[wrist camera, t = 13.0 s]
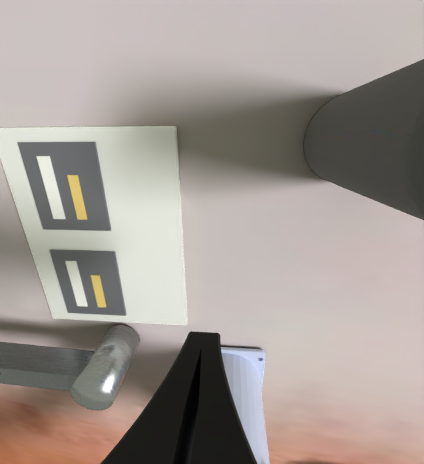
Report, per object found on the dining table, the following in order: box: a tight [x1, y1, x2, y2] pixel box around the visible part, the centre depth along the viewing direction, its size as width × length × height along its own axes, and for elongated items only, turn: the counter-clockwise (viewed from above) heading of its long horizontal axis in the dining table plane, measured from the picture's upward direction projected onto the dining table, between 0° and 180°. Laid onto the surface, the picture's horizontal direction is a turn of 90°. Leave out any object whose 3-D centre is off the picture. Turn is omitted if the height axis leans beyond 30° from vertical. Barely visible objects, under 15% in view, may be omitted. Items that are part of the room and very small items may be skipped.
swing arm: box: [0, 325, 140, 410], centre depth 22 cm, size 23×4×6 cm, turn 87°
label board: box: [0, 126, 188, 325], centre depth 20 cm, size 18×14×1 cm
